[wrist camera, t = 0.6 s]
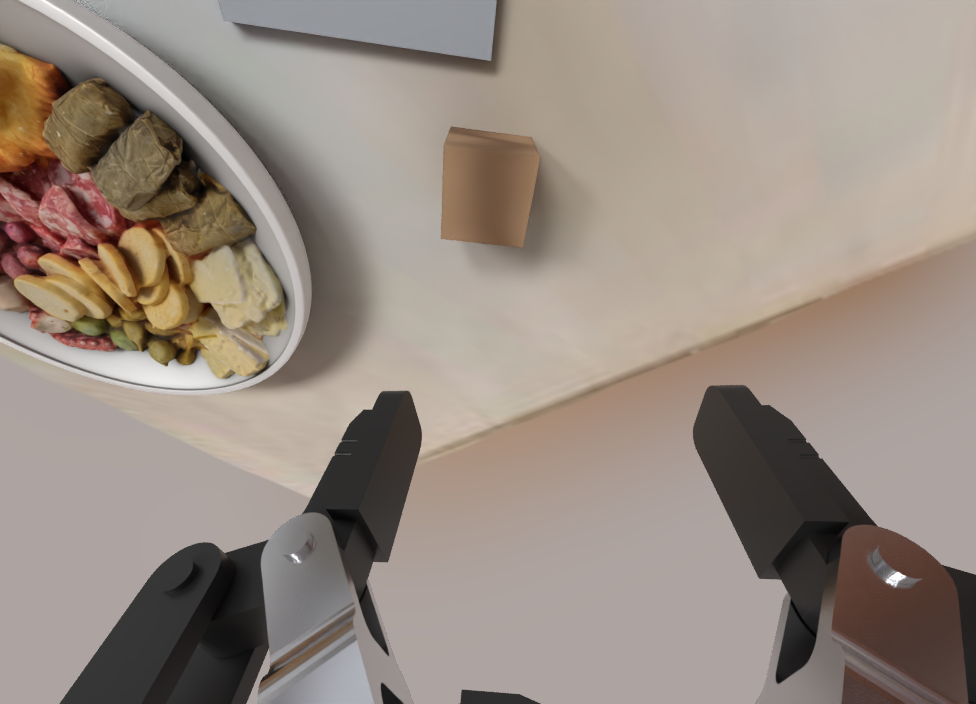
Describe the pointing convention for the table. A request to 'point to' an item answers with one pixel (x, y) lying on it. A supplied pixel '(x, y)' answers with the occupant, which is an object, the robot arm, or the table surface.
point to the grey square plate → (380, 21)
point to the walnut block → (487, 186)
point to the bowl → (135, 217)
